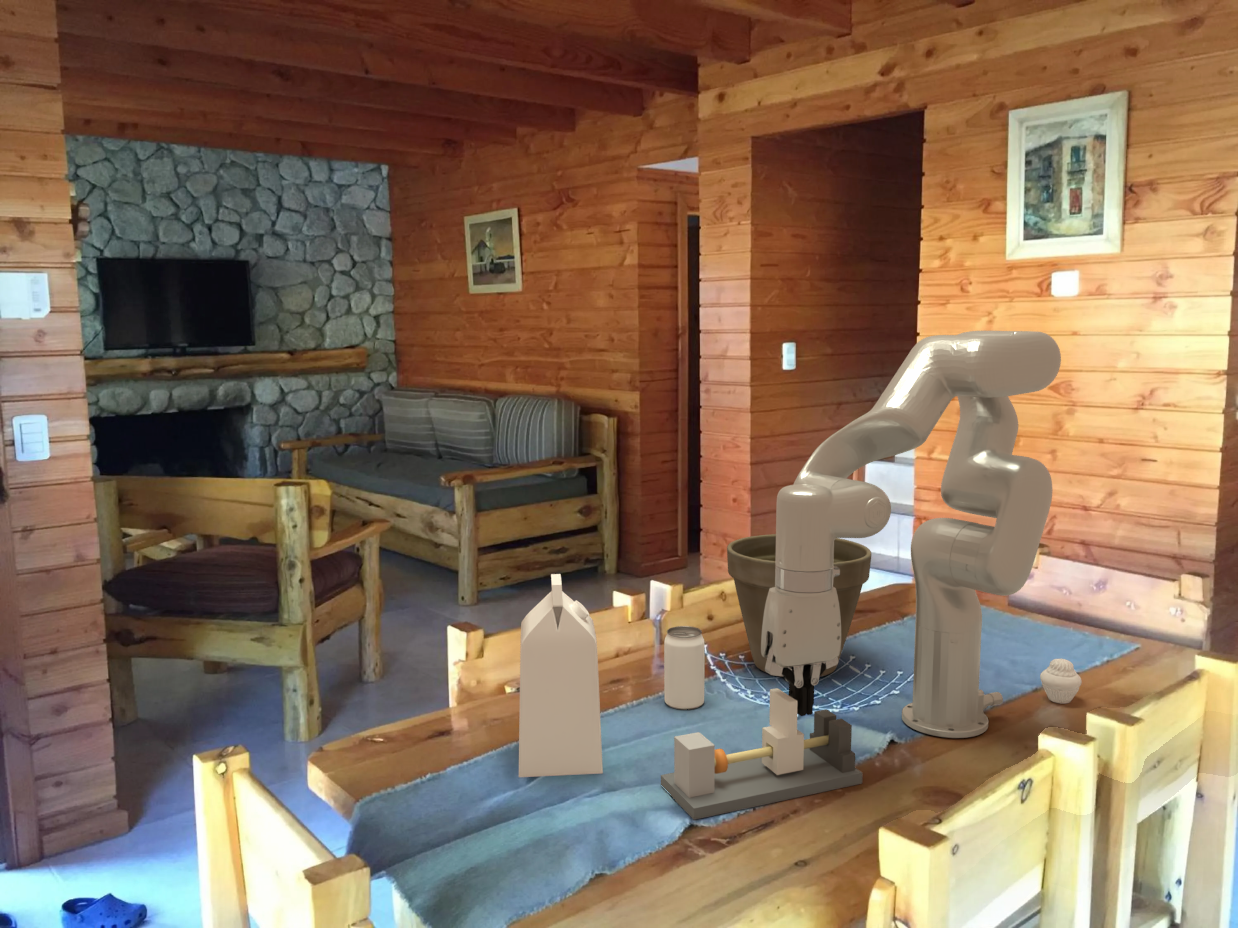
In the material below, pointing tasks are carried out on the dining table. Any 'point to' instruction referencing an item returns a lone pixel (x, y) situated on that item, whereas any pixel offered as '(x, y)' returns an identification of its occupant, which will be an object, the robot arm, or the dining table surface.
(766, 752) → the slider mechanism
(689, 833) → the dining table surface
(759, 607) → the plant pot
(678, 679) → the can
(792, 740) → the sleeve
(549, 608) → the milk
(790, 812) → the dining table surface
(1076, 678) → the muffin
